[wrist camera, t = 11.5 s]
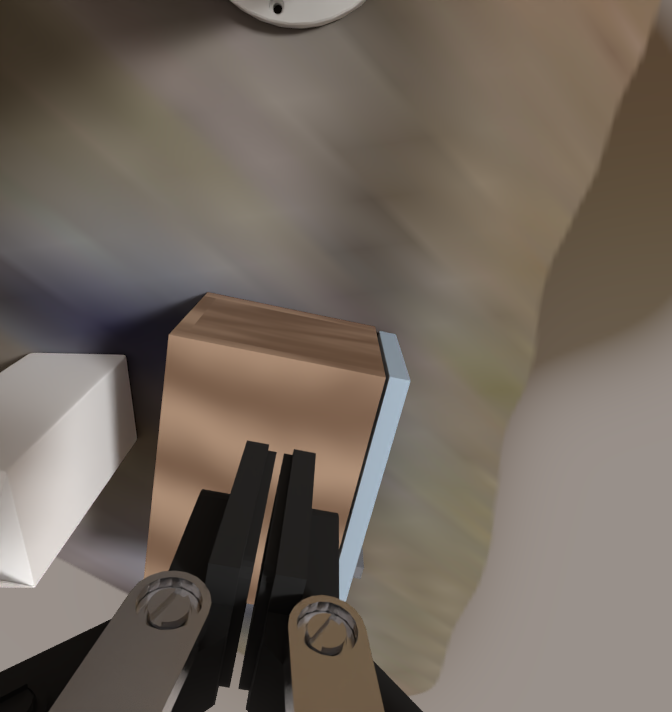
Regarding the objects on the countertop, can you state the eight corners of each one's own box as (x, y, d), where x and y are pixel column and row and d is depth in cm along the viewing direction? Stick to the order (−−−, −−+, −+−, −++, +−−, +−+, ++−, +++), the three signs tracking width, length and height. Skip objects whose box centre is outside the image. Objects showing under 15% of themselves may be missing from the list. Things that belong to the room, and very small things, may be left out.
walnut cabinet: (207, 292, 36) (168, 334, 28) (375, 326, 37) (385, 377, 29) (181, 501, 43) (143, 586, 34) (324, 526, 44) (321, 615, 35)
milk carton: (138, 438, 41) (-14, 659, 23) (47, 436, 41) (-176, 656, 23) (127, 353, 38) (-55, 529, 20) (29, 351, 38) (-237, 526, 20)
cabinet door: (379, 331, 37) (389, 376, 29) (409, 337, 37) (427, 384, 30) (327, 529, 43) (325, 609, 36) (353, 534, 43) (356, 613, 36)
